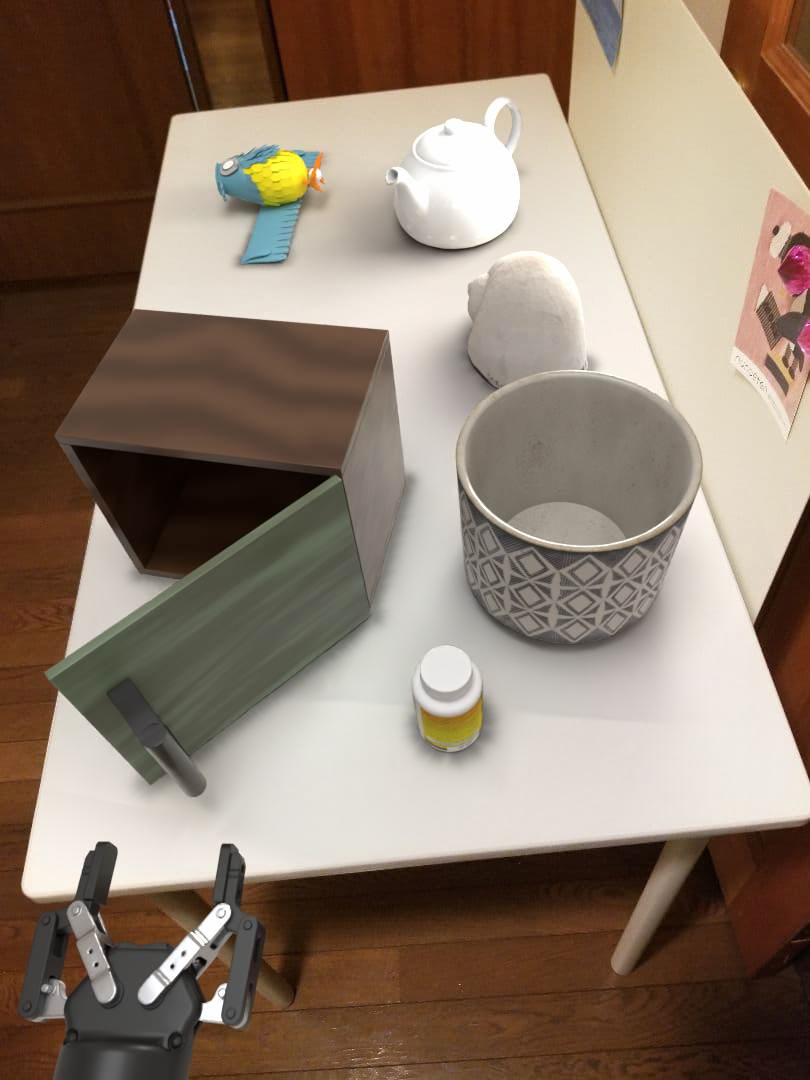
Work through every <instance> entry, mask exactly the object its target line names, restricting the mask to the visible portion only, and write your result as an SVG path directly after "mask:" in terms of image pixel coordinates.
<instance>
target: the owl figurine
mask: <svg viewBox="0 0 810 1080" xmlns="http://www.w3.org/2000/svg"><path fill="white" fill-rule="evenodd" d="M323 156H324V151H322V152H320V151H308V152H305V151H304V150H301V149H292V150H287V149H283V148H280V145H279V144H275V143H274V144H272V145H267V144H264V145H262V146H260V147H257V146H256V147H253V148H252V149H251V150H250V151H249V152H247V153H246V154H245V152H242V153H240V154H235V155H232V156H230V157H228V158H226V159H225V160H224V161H223V162H221V163H219V162H216V164H215V167H214V168H215V169H214V171H215V172H214V177H215V183H216V186H217V190H218V193H219V195H220V196H221V197H222V198H223V201H224V202H227V199H228V198H227V196H230V197H233V198H236V199H237V200H242V201H245V202H250V203H253V204H258V205H260V208H259V212H258V215H257V218H256V221H255V224H254V227H253V231H252V233H251V236H250V239H249V243H248V245H247V248H246V251H245V254H243V255H242V256H241V259H240V264H241V265H246V264H247V265H248V264H265V263H274V262H281V261H284V260H285V259H286V258H287V255H286V254H287V253H288V252H289V251H290V249H289V246H290V244H291V241H290V239H292V237H293V235H292V233H293V232H294V230H295V229H294V226H295V225H296V222H295V221H296V220H297V219H298V214H299V213H300V211H299V209H300V208H301V207H302V206H301V203H302V202H303V198H302V197H303V196H304V195H305V194H306V193H307V190H308V187H309V186H310V187H311V188H312V189H314V191H317V192H320V193H323V192H324V190H322V188H321V187H320V185H319V184H318V183H319V182H320V183H321V184H323V185H326V183H325V181H324V178H323V176H322V175H323V174H322V171H321V166H322V158H323ZM226 195H227V196H226Z"/></svg>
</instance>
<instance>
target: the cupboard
mask: <svg viewBox="0 0 810 1080" xmlns="http://www.w3.org/2000/svg"><path fill="white" fill-rule="evenodd" d="M390 338H391V337H390V331H389V329H382V328H372V327H371V328H367V327H357V326H346V325H335V324H334V325H333V324H321V323H310V322H309V323H308V322H299V321H288V320H287V321H286V320H275V319H261V318H252V317H251V318H249V317H239V316H238V317H237V316H228V315H226V316H225V315H216V314H215V315H214V314H204V313H203V314H202V313H192V312H191V313H190V312H180V311H179V312H177V311H167V310H166V311H165V310H155V309H143V308H142V309H141V308H134V309H133V310H132V312H131V313H130V315H129V316H128V318H127V320H126V321H125V323H124V324H123V326H122V327H121V329H120V331H119V333H118V334H117V336H116V337H115V339H114V340H113V342H112V344H111V345H110V347H109V348H108V349H107V351H106V353H105V355H104V356H103V357H102V358H101V361H100V362H99V364H98V366H97V367H96V369H95V370H94V372H93V374H92V375H91V377H90V378H89V380H88V381H87V383H86V384H85V386H84V387H83V389H82V391H81V392H80V394H79V396H77V399H76V400H75V402H74V403H73V405H72V407H71V408H70V410H69V412H68V413H67V414H66V416H65V417H64V419H63V421H62V423H61V424H60V425H59V427H58V429H57V431H56V432H55V433H54V437H55V439H56V440H57V442H58V443H59V446H60V447H61V449H62V451H63V453H64V454H65V455H66V457H67V459H68V460H69V462H70V463H71V465H72V467H73V468H74V470H75V471H76V474H77V475H78V476H79V478H80V480H81V481H82V483H83V484H84V486H85V488H86V489H87V491H88V493H89V494H90V496H91V497H92V500H93V501H94V503H95V504H96V506H97V507H98V509H99V510H100V513H101V514H102V516H103V517H104V519H105V520H106V522H107V523H108V525H109V527H110V528H111V530H112V532H113V534H114V535H115V537H116V539H118V541H119V543H120V545H121V546H122V548H123V550H124V551H125V553H126V554H127V556H128V558H129V559H130V561H131V562H132V564H133V565H134V567H135V569H136V570H137V572H138V573H139V574H141V575H148V576H149V575H150V576H156V577H161V578H162V577H163V578H169V579H174V580H175V579H176V580H181V579H182V578H184V577H185V576H187V575H188V574H190V573H191V572H193V571H194V570H196V569H197V568H198V567H200V566H201V565H203V564H204V563H206V562H207V561H209V560H210V559H212V558H213V557H215V556H216V555H218V554H219V553H221V552H222V551H223V550H225V549H226V548H228V547H229V546H231V545H232V544H234V543H235V542H237V541H238V540H240V539H241V538H243V537H244V536H246V535H247V534H249V533H250V532H251V531H253V530H254V529H256V528H257V527H259V526H260V525H262V524H263V523H265V522H266V521H268V520H269V519H271V518H272V517H274V516H275V515H277V514H278V513H279V512H281V511H282V510H284V509H285V508H287V507H288V506H290V505H291V504H293V503H294V502H296V501H297V500H299V499H300V498H302V497H303V496H304V495H306V494H307V493H309V492H310V491H312V490H313V489H315V488H316V487H318V486H319V485H321V484H322V483H324V482H325V481H327V480H328V479H330V478H331V477H332V476H334V475H336V476H338V477H339V478H340V479H341V480H342V485H343V489H344V494H345V499H346V503H347V508H348V513H349V517H350V522H351V527H352V531H353V536H354V540H355V545H356V550H357V554H358V559H359V564H360V568H361V573H362V578H363V582H364V587H365V592H366V596H367V601H368V606H369V609H370V608H371V606H372V602H373V600H374V595H375V592H376V588H377V585H378V582H379V577H380V575H381V571H382V568H383V564H384V561H385V557H386V553H387V550H388V546H389V543H390V539H391V535H392V532H393V529H394V525H395V522H396V518H397V515H398V511H399V507H400V504H401V500H402V497H403V492H404V490H405V486H406V482H407V477H406V469H405V461H404V460H405V459H404V450H403V443H402V434H401V425H400V417H399V416H400V415H399V408H398V397H397V390H396V383H395V382H396V381H395V374H394V372H395V371H394V364H393V356H392V355H393V354H392V348H391V347H392V346H391V339H390Z"/></svg>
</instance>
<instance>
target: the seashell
mask: <svg viewBox="0 0 810 1080" xmlns="http://www.w3.org/2000/svg"><path fill="white" fill-rule="evenodd" d="M467 296H468V300H467V312H468V313H467V314H468V316H469V318H470V320H471V321H472V323H473V325H472V328H471V331H470V333H469V337H468V341H467V354H468V357H469V358H470V361H471V363H472V365H473V366H474V367H475V368H476V369H477V370H478V371H479V372H480V374H482V376H483V377H484V378H485V379H486V380H487V381H488V382H489V383H490V384H491V385H492V386H494V387H495V388H497V389H500V388H501V387H503V386H505V385H507V384H509V383H512V382H514V381H516V380H519V379H522V378H525V377H528V376H531V375H535V374H540V373H545V372H552V371H563V370H582V371H588V368H589V362H588V357H587V349H586V348H587V347H586V335H585V332H586V331H585V330H586V329H585V320H584V319H585V318H584V312H583V311H584V310H583V305H582V300H581V297H580V293H579V289H578V287H577V285H576V283H575V281H574V279H573V277H572V275H571V274H570V272H569V271H568V269H567V268H566V267H565V265H564V264H563V263H561V262H560V261H559V260H558V259H556V258H555V257H553V256H551V255H548V254H546V253H544V252H543V253H542V252H539V251H535V250H526V251H525V250H523V251H522V250H521V251H516V252H513V253H509V254H507V255H504V256H502V257H501V258H499V259H498V260H497V261H495V262H494V263H493V264H492V266H491V267H490V269H488V270H487V272H486V273H481V274H480V275H477V276H476V277H475V278H474V279H473V280H471V281H470V282H469V283H468V284H467Z"/></svg>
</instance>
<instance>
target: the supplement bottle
mask: <svg viewBox="0 0 810 1080" xmlns="http://www.w3.org/2000/svg"><path fill="white" fill-rule="evenodd" d="M411 676H412V677H411V693H412V699H413V706H414V712H415V717H416V724H417V729H418V731H419V734H420V735H421V737H422V739H423V740H424V741H425V742H426V743H427V744H428V745H429V746H431V747H432V748H433V749H436V750H439V751H441V752H446V753H453V752H454V753H455V752H459V751H462V750H465V749H467V748H468V747H470V746H471V745H472V744H473V743H474V742H475V741H476V740H477V739H478V738H479V736H480V734H481V731H482V728H483V721H484V717H483V716H484V715H483V714H484V710H483V709H484V708H483V707H484V703H483V702H484V701H483V699H484V698H483V695H484V694H483V693H484V691H483V690H484V689H483V688H484V685H483V684H484V683H483V677H482V673H481V670H480V668H479V666H478V665H477V664H476V663H475V661H474V660H473V659H472V658H470V657H469V655H468V654H467V653H466V652H465V651H464V650H463V649H461V648H459V647H458V646H454V645H449V644H443V645H438V646H435V647H433V648H431V649H430V650H428V651H426V653H425V654H424V656H423V657H422V659H421V660H420V661H419V663H418V664H417V666H416V667H415V668H414V671H413V674H412V675H411Z"/></svg>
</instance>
